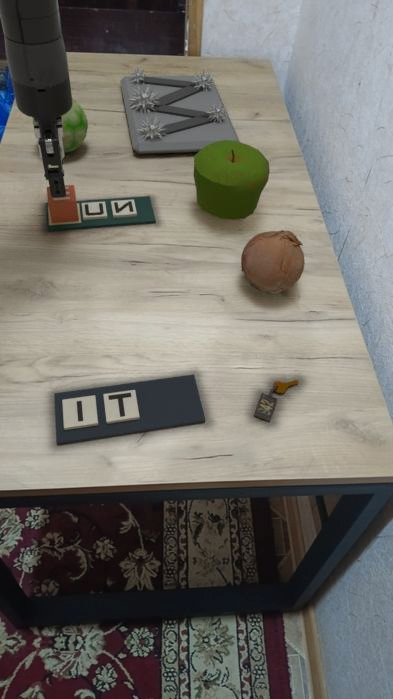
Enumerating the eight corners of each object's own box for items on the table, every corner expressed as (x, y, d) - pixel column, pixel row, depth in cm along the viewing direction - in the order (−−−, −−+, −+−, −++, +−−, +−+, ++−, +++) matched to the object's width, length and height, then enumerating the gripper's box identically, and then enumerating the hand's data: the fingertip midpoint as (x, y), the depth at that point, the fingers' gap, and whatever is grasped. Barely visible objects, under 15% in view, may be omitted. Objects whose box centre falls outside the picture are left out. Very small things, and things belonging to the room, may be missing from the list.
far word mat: (47, 231, 81) (46, 225, 80) (46, 205, 85) (44, 199, 84) (155, 223, 84) (155, 217, 83) (149, 198, 88) (149, 192, 87)
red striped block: (51, 223, 81) (47, 202, 78) (50, 207, 84) (46, 186, 80) (79, 221, 82) (75, 200, 79) (76, 205, 84) (73, 184, 81)
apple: (190, 228, 84) (194, 169, 75) (191, 186, 91) (195, 127, 82) (262, 232, 84) (275, 174, 75) (258, 190, 92) (269, 132, 83)
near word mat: (57, 445, 58) (55, 440, 57) (54, 395, 62) (53, 390, 61) (205, 422, 61) (206, 417, 60) (193, 376, 65) (194, 371, 64)
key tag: (267, 424, 61) (268, 422, 61) (247, 411, 62) (248, 409, 62) (299, 381, 66) (300, 379, 65) (279, 370, 67) (280, 367, 66)
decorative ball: (36, 162, 92) (25, 110, 84) (40, 134, 98) (30, 82, 90) (89, 163, 93) (83, 111, 85) (91, 135, 99) (85, 84, 91)
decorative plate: (241, 154, 99) (246, 120, 93) (134, 158, 95) (132, 122, 90) (211, 84, 116) (214, 51, 111) (120, 85, 113) (118, 51, 107)
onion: (275, 282, 81) (305, 228, 76) (292, 313, 74) (327, 256, 69) (224, 266, 78) (252, 208, 73) (237, 296, 71) (270, 234, 66)
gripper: (10, 48, 68) (32, 156, 81) (8, 98, 60) (33, 209, 73) (65, 48, 70) (79, 154, 82) (71, 96, 61) (85, 205, 74)
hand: (57, 179), depth 77 cm, fingers open, 8 cm apart
